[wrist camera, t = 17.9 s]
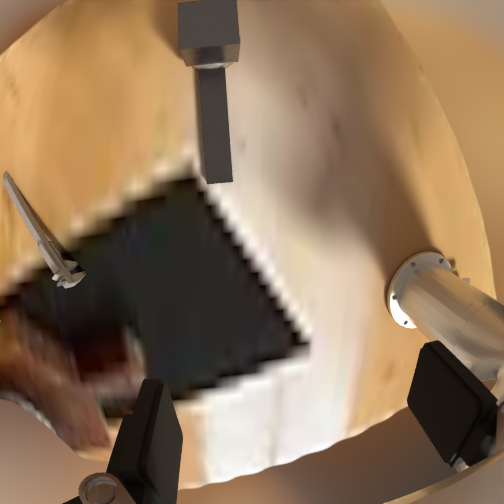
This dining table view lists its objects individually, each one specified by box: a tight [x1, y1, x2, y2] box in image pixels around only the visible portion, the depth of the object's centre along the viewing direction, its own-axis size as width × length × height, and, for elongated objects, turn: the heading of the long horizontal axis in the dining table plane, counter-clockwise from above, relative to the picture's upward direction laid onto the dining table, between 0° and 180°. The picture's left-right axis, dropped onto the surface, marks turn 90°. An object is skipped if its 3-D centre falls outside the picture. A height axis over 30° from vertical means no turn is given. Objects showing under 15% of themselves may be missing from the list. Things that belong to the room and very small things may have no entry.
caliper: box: [3, 172, 86, 288], centre depth 34 cm, size 20×1×6 cm, turn 40°
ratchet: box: [192, 36, 240, 184], centre depth 32 cm, size 7×21×5 cm, turn 4°
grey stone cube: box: [178, 0, 240, 67], centre depth 28 cm, size 6×6×6 cm
